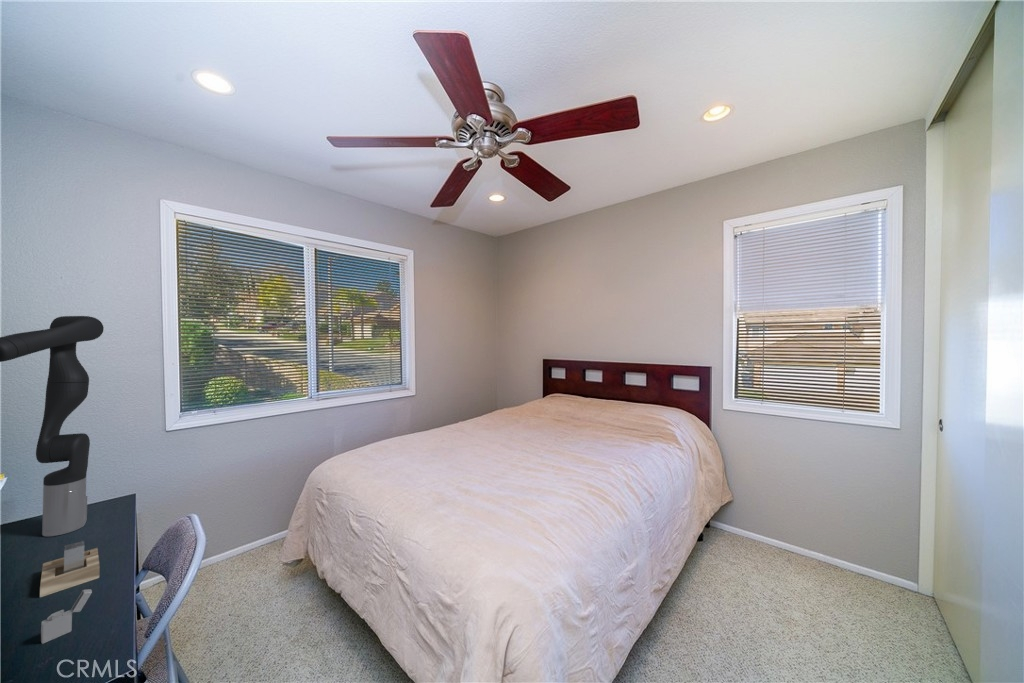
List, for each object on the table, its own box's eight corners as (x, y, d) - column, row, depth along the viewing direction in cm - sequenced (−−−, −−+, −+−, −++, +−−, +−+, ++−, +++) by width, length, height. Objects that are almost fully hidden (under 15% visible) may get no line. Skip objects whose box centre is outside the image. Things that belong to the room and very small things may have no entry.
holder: (42, 573, 99) (43, 563, 99) (97, 557, 107) (97, 547, 107) (39, 597, 90) (40, 586, 90) (99, 577, 98) (99, 567, 98)
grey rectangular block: (63, 577, 98) (64, 545, 98) (83, 571, 101) (84, 540, 101) (63, 583, 96) (64, 550, 96) (83, 576, 98) (84, 545, 98)
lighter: (41, 644, 77) (42, 608, 77) (40, 640, 78) (41, 605, 78) (91, 622, 83) (92, 589, 83) (89, 619, 84) (90, 586, 84)
